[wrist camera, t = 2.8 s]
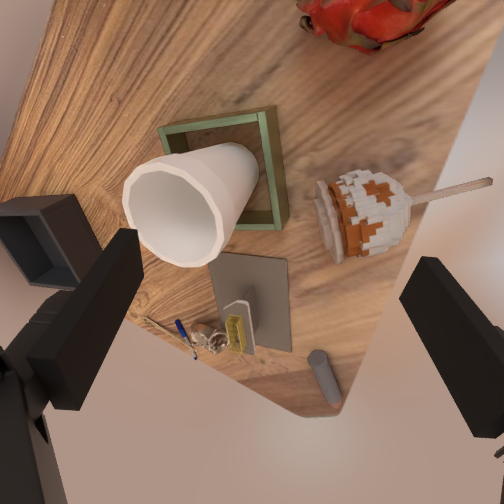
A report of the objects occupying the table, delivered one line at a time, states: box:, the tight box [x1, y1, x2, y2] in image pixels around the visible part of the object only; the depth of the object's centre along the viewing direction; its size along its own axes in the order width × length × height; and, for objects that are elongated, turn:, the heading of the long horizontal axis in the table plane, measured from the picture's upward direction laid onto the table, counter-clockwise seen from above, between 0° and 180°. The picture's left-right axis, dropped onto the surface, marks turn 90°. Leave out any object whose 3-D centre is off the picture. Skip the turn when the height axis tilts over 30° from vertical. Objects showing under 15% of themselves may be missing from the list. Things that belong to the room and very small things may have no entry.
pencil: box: [308, 351, 342, 409], centre depth 47 cm, size 11×3×3 cm, turn 23°
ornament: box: [190, 323, 229, 355], centre depth 50 cm, size 8×7×4 cm
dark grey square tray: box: [0, 194, 103, 291], centre depth 50 cm, size 15×15×6 cm
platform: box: [208, 253, 291, 355], centre depth 43 cm, size 12×18×7 cm, turn 6°
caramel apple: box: [314, 169, 493, 265], centre depth 27 cm, size 8×8×15 cm
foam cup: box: [122, 142, 259, 267], centre depth 29 cm, size 10×9×13 cm
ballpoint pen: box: [175, 320, 197, 360], centre depth 56 cm, size 10×1×1 cm
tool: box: [142, 316, 200, 354], centre depth 56 cm, size 14×1×2 cm
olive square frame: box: [157, 105, 290, 230], centre depth 33 cm, size 12×12×4 cm
